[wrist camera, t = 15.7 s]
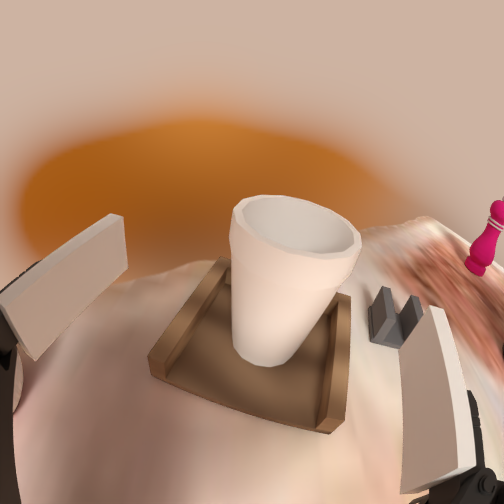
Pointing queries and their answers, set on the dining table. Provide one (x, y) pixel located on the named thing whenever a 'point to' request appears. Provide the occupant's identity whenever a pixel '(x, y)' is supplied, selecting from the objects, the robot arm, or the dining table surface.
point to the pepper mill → (486, 241)
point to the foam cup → (284, 272)
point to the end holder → (253, 376)
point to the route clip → (392, 319)
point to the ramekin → (17, 382)
